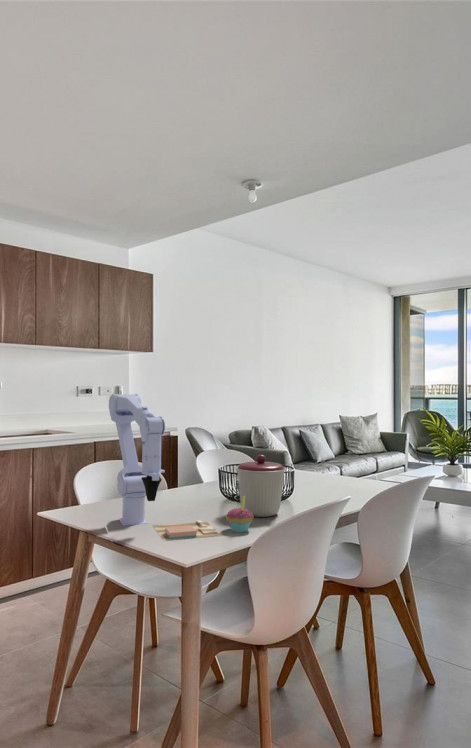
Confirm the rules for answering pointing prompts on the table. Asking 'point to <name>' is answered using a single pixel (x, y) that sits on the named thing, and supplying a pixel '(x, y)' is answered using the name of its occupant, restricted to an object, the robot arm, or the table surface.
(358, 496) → the table surface
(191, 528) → the tile
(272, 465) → the canister
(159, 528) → the cork mat
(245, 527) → the cupcake
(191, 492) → the table surface
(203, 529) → the wooden turner
